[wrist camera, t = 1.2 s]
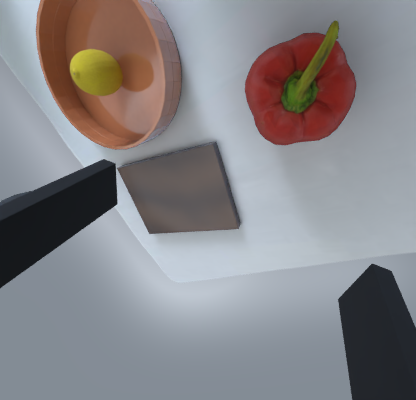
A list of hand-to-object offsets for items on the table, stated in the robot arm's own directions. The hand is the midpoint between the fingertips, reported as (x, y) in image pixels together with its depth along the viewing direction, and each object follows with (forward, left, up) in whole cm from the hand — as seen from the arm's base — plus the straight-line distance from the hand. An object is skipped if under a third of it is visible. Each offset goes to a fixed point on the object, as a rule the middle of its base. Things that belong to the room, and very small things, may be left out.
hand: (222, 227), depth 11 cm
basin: (-14, -20, -23) cm, 34 cm away
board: (+7, -18, -23) cm, 30 cm away
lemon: (-14, -20, -23) cm, 34 cm away
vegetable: (-4, +4, -23) cm, 24 cm away
